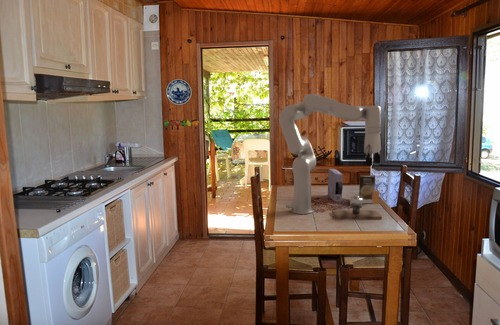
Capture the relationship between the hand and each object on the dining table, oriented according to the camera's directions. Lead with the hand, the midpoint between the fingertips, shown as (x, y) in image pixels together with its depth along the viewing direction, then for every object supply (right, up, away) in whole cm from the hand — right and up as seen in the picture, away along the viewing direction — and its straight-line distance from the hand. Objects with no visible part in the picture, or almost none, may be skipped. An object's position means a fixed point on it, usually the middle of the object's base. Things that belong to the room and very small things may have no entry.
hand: (373, 164), depth 206 cm
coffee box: (+9, -23, +41) cm, 48 cm away
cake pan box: (-9, -22, +51) cm, 56 cm away
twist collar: (-2, -22, +11) cm, 24 cm away
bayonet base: (-6, -28, +12) cm, 31 cm away
